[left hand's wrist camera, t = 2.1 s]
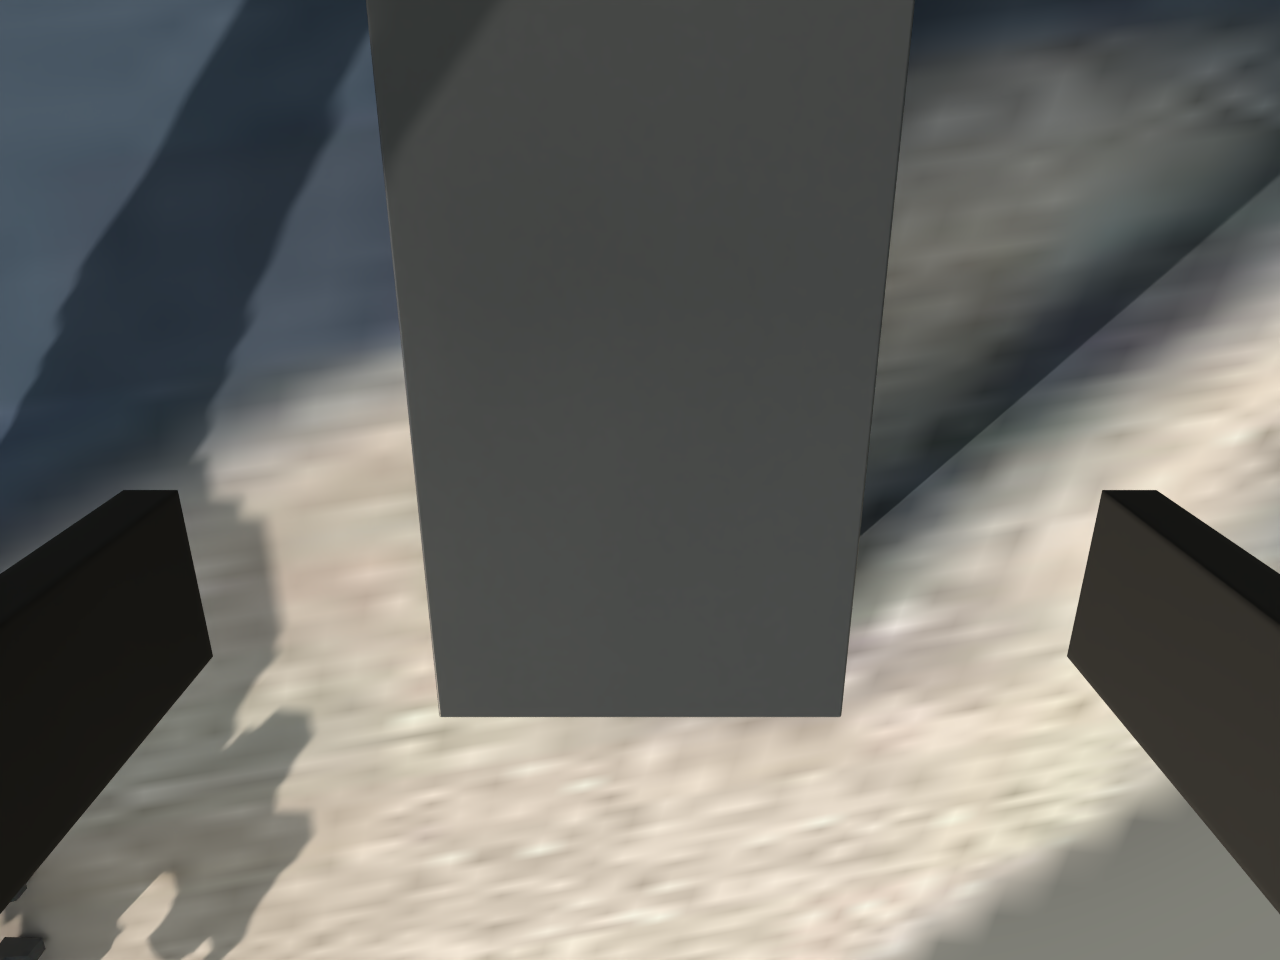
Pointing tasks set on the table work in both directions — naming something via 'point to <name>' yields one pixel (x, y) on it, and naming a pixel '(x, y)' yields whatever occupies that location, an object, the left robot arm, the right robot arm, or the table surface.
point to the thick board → (640, 339)
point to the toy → (21, 944)
